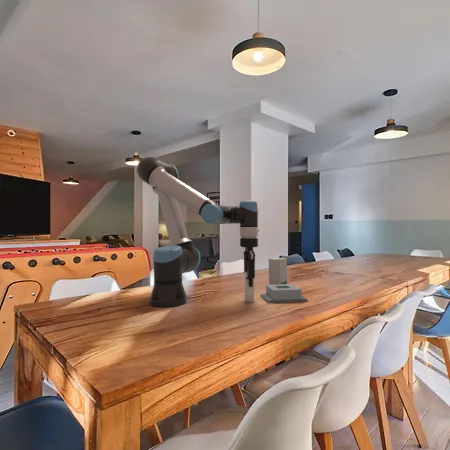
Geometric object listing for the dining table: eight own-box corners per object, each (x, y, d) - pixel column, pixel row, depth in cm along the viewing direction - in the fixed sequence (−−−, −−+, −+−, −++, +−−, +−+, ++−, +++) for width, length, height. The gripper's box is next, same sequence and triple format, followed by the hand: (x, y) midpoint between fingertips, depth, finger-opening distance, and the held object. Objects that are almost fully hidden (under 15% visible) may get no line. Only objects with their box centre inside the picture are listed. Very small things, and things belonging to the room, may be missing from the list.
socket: (267, 303, 124) (267, 290, 124) (260, 296, 136) (260, 284, 136) (307, 301, 126) (307, 289, 126) (297, 294, 138) (296, 283, 138)
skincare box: (280, 292, 144) (279, 259, 144) (267, 290, 148) (267, 258, 148) (287, 289, 151) (287, 257, 151) (276, 287, 155) (275, 257, 155)
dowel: (245, 302, 125) (245, 273, 125) (243, 299, 129) (243, 271, 129) (255, 301, 126) (254, 272, 126) (253, 299, 130) (252, 271, 130)
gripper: (262, 238, 120) (262, 297, 120) (253, 236, 136) (253, 288, 136) (243, 238, 119) (243, 298, 119) (237, 236, 135) (237, 289, 135)
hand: (249, 293), depth 127 cm, fingers closed on dowel, 4 cm apart
